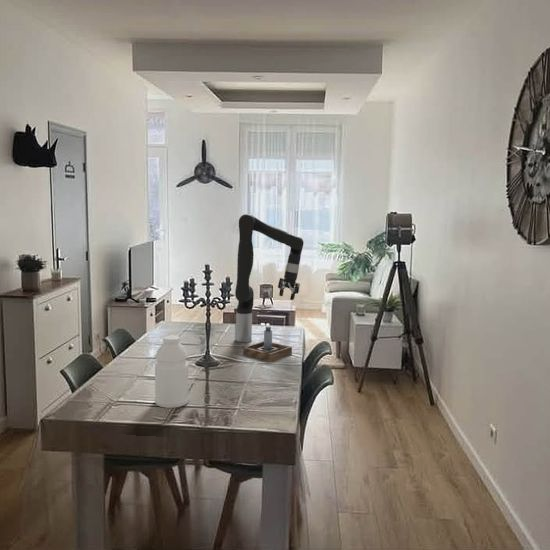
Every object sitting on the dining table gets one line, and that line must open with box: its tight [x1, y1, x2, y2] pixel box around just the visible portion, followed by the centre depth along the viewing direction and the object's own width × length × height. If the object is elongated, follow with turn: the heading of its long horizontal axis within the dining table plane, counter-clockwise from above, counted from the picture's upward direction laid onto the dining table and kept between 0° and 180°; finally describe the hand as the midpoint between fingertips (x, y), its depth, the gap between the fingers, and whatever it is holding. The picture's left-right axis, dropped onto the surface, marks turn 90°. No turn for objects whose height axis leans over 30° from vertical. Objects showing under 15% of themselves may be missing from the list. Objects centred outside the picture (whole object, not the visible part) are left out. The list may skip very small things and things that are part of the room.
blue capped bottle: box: [263, 326, 273, 351], centre depth 297 cm, size 4×4×14 cm
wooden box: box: [242, 340, 293, 362], centre depth 298 cm, size 19×19×4 cm
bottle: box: [154, 334, 190, 409], centre depth 225 cm, size 14×14×28 cm
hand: (286, 298), depth 317 cm, fingers open, 8 cm apart
